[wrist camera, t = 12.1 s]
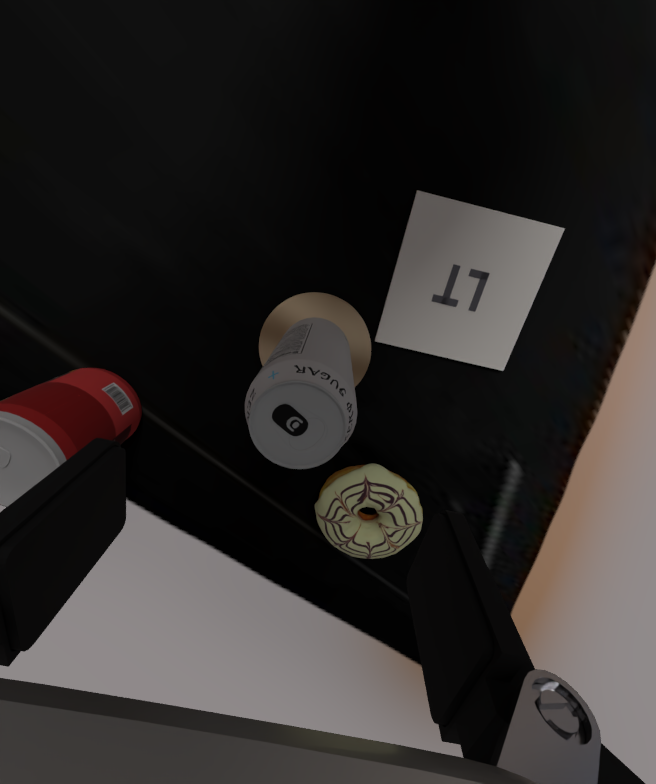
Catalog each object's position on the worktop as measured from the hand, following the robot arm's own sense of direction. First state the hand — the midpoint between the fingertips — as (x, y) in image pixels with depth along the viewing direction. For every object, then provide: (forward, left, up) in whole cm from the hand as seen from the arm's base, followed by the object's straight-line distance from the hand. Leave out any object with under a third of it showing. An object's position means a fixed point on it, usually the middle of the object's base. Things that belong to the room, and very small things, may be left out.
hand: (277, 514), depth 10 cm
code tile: (-7, +11, -22) cm, 26 cm away
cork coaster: (+1, 0, -23) cm, 22 cm away
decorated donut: (+16, +9, -23) cm, 29 cm away
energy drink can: (+1, 0, -22) cm, 22 cm away
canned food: (+11, -19, -23) cm, 32 cm away
